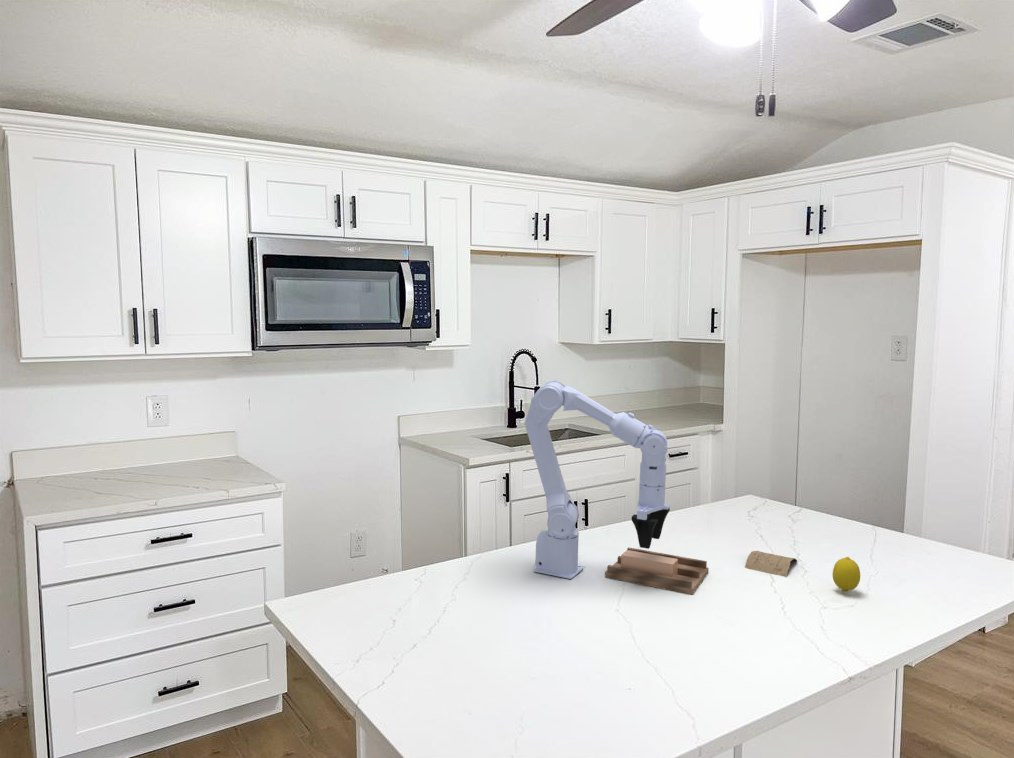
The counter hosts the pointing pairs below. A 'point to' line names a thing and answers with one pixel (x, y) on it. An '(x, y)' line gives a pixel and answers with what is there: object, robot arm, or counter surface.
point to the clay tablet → (768, 563)
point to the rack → (685, 582)
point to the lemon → (846, 574)
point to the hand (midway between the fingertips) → (649, 542)
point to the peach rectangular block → (649, 563)
